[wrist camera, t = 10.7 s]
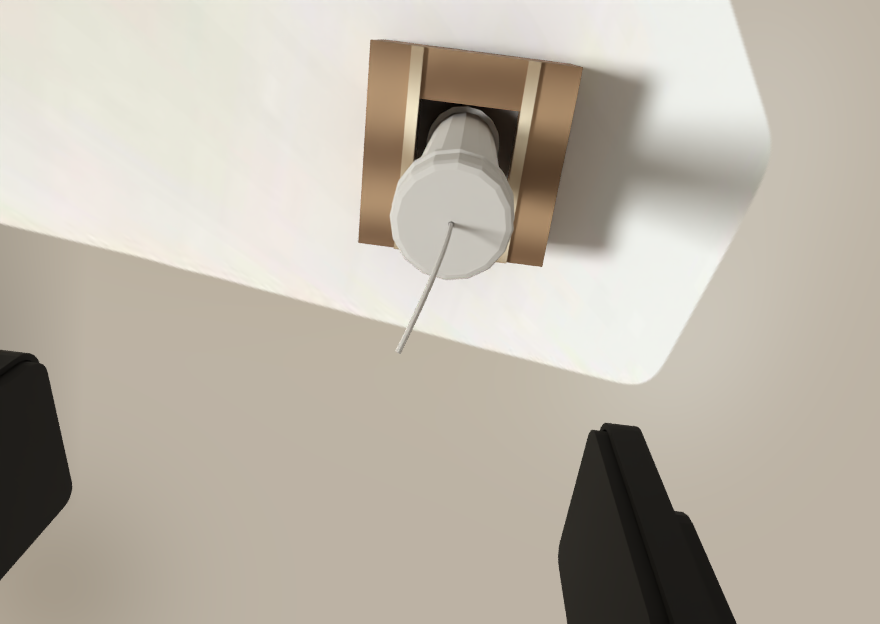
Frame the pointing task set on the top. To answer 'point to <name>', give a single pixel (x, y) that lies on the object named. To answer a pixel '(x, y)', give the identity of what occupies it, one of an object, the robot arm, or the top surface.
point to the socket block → (480, 84)
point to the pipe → (453, 202)
